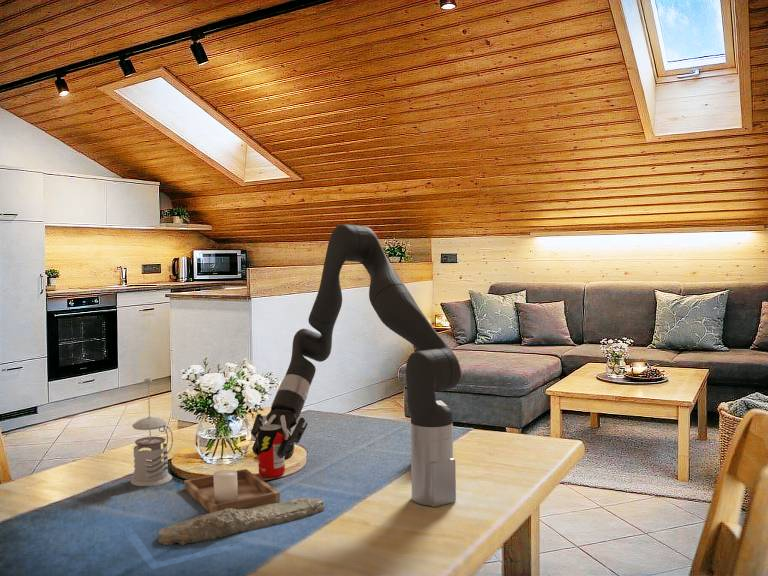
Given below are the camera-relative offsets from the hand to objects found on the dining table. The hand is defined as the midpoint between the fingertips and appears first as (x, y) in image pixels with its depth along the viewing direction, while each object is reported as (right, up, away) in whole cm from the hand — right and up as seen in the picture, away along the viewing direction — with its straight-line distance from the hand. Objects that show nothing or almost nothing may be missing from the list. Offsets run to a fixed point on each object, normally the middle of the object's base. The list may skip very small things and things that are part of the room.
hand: (267, 454), depth 177 cm
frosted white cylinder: (-6, -7, -19) cm, 21 cm away
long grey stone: (0, -9, -29) cm, 30 cm away
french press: (-28, -7, +3) cm, 29 cm away
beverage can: (+1, -6, +2) cm, 6 cm away
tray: (-6, -7, -13) cm, 16 cm away
